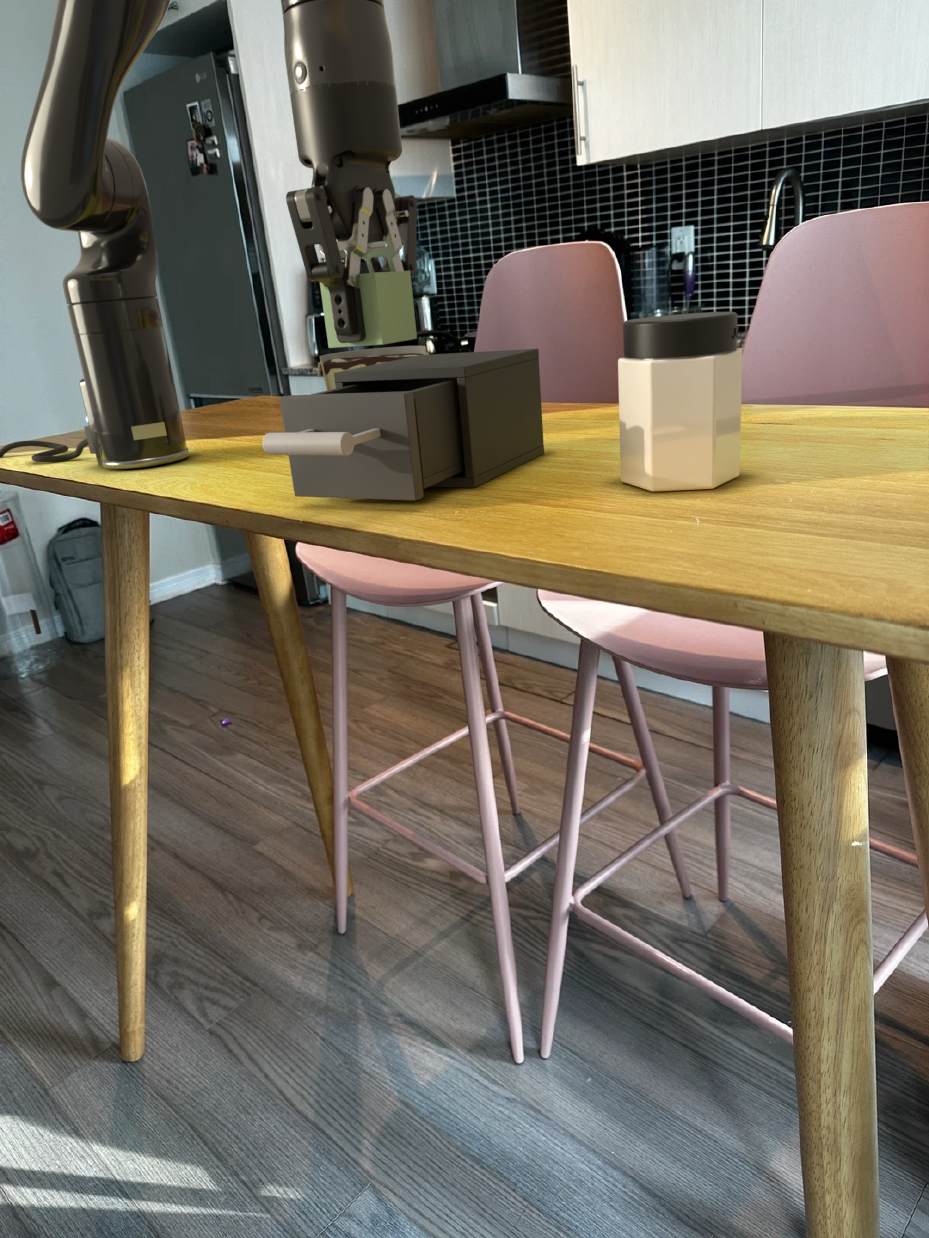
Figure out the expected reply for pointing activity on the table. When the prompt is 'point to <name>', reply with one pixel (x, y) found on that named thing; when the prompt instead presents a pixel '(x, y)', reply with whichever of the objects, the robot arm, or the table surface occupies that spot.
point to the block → (379, 309)
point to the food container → (362, 360)
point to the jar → (680, 401)
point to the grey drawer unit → (479, 405)
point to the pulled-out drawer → (372, 439)
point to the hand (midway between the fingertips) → (372, 338)
